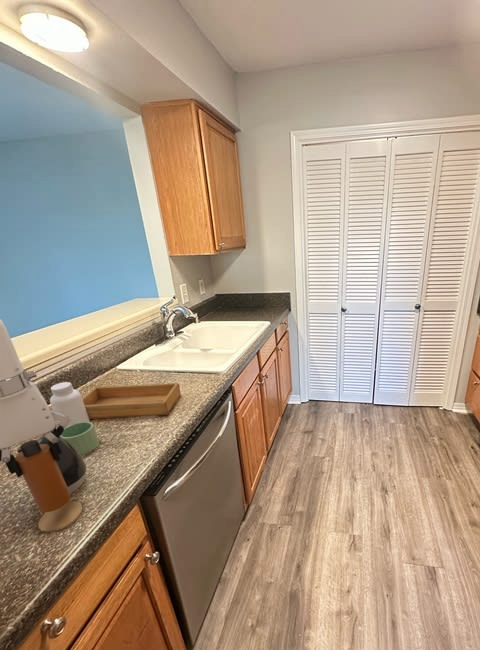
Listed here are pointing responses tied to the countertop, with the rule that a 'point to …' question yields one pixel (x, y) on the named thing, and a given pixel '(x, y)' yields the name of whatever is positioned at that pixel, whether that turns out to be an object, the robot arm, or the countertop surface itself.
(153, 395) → the tray
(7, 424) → the robot arm
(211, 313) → the countertop surface
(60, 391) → the pill bottle
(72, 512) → the coaster
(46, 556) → the countertop surface
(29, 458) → the bottle
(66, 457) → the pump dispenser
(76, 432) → the cup
